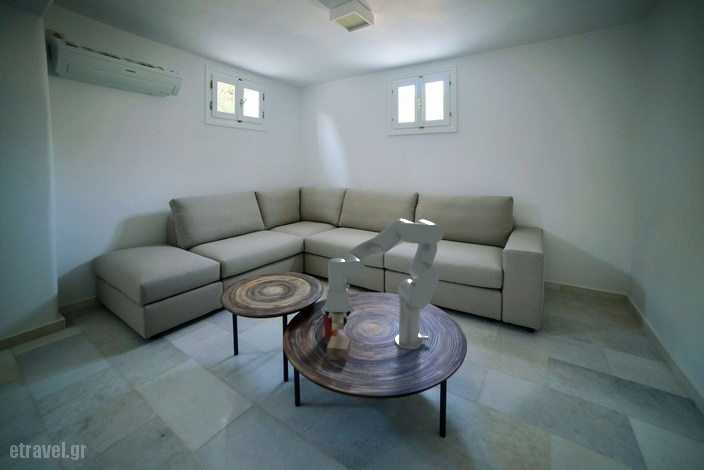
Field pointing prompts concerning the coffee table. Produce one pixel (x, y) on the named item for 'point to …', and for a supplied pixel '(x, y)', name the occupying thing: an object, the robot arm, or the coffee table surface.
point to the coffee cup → (328, 327)
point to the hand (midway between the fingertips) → (338, 324)
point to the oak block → (337, 320)
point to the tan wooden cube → (338, 348)
